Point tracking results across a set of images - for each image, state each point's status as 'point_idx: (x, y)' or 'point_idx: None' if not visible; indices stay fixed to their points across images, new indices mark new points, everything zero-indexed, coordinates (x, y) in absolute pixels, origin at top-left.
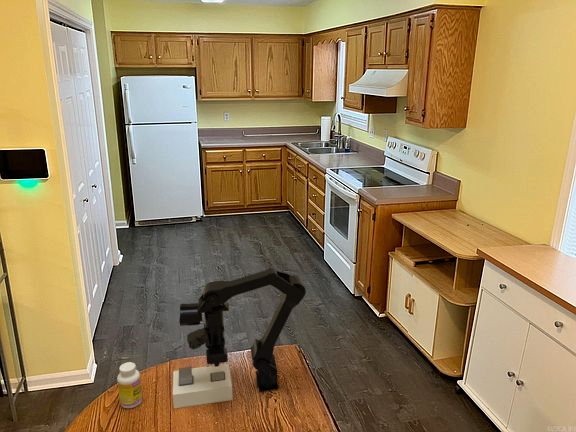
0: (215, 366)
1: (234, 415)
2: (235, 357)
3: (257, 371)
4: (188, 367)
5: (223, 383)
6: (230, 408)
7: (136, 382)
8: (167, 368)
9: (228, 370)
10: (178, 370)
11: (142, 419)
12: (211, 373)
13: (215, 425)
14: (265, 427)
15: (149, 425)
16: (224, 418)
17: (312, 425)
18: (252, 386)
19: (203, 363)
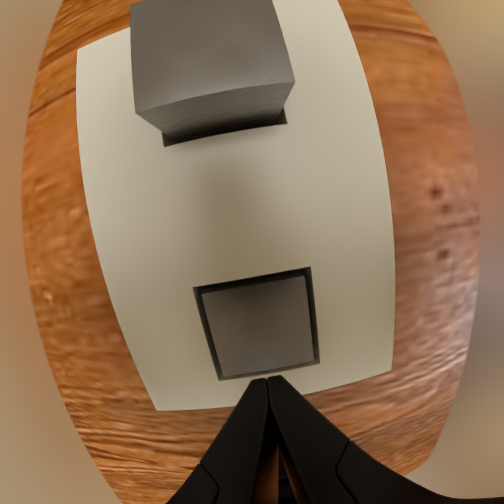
0: (250, 385)
1: (91, 362)
2: (465, 325)
3: (285, 483)
4: (273, 51)
5: (177, 371)
6: (122, 350)
7: None
8: (417, 27)
9: (322, 384)
10: (345, 23)
11: (87, 5)
12: (300, 279)
13: (36, 293)
14: (76, 429)
15: (53, 40)
16: (69, 326)
17: (118, 493)
18: None
19: (460, 184)
